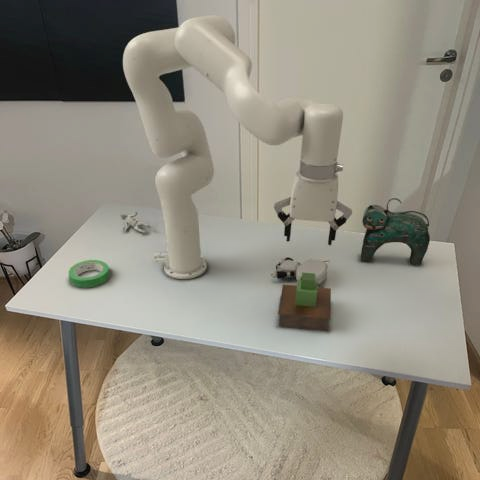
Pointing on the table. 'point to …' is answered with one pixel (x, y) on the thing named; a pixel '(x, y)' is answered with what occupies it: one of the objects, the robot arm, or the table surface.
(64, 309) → the table surface
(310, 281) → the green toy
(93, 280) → the tape roll
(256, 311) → the table surface
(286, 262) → the robot toy
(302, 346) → the table surface
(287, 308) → the walnut plinth
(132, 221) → the soldier figure
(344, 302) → the table surface
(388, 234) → the ceramic cat
